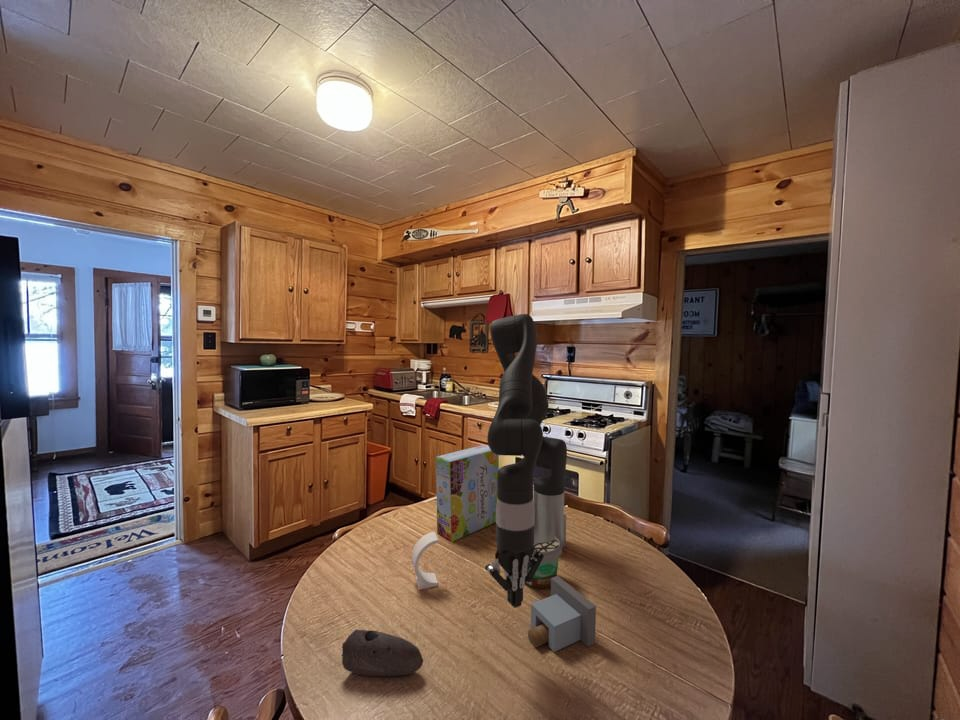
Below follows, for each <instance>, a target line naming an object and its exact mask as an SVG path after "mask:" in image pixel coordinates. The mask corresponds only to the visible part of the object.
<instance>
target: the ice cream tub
mask: <svg viewBox="0 0 960 720" xmlns="http://www.w3.org/2000/svg"><path fill="white" fill-rule="evenodd" d="M534 548H535V549H537V550H538V551H539V552H541V553H542V554H543V555H544V557H543V559H542V561H541V563H540V565H539V567H538V569H537V571H536V573H535V575H534V576H533V578H532V580H531V582H526V583H525V585H524V586H527V587H529V588H531V589H534V590H541V591H542V590H544V591H545V590H549V589H551V578H553V577H556V576H558V568H559V567H558V566H559V559H560V556H561V555H562V552H563V549H561V544H560V541H559V539H558V538H557V537H556V536H555V540H552V541H549V542H543V543H538V544H535V545H534ZM530 569H531V568H529V570H528V572H527V573H529V571H530Z"/></svg>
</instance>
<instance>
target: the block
mask: <svg viewBox="0 0 960 720" xmlns="http://www.w3.org/2000/svg"><path fill="white" fill-rule="evenodd" d="M541 624H545V625H546V626H547V627H548V628H549V642H548V648H549V649H551V651H552V652H554V653H555V652H557V651H559V650H561V649H563V648H566V647H568V646H570V645H573V644H574V643H577V642H578V641H581V640H580V634H581V615H580V614H579V613H578V612H577V611H576V610H574V609H573V608H572V607H571V606H570V605H569V604H567V603H566V602H565V601H564V600H563V599H562V598H560V597H559V596H558V595H557V594H555V595H553V596H551V595H550V596H548V597H545V598H543V599H540V600H537V601H534V602H532V603H530V629H532V628H534V627H537V626H539V625H541Z"/></svg>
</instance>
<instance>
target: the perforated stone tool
mask: <svg viewBox="0 0 960 720" xmlns="http://www.w3.org/2000/svg"><path fill="white" fill-rule="evenodd" d="M341 656H342V657H341V661H342V662H341V663H342V667H343V668H344V669H345V670H346V671H347V672H349V673H354V674H357V675H361V676H366V677H367V676H368V677H369V676H370V677H400V676H407V675H410V674H414V673H416V672H417V671H419V669H421V667H422V666H423V663H424V659H423V656H422V654H421V651H420V649H419V648H418V647H417V646H416V645H415V644H413V643H412V642H411V641H409V640H406V639H404V638H403V637H402V638H401V637H399V636H396V635H393V634H389V633H385V632H383V631H377V630H367V629H365V630H364V629H355V630H354V631H352V632H351V634H349V635H348V636H347V638H346V639H345V641H344V642H343V643H342V654H341Z"/></svg>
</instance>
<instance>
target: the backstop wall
mask: <svg viewBox="0 0 960 720" xmlns="http://www.w3.org/2000/svg"><path fill="white" fill-rule="evenodd" d="M555 594H557V595H558V596H559V597H560V598H562V599H563V600H564V601H565V602H566V603H567V604H569V605H570V606H571V607H572V608H573V609H574V610H576V611H577V612H578V613H579V614H580V615H581V634H580V640H579V641H580V642H582V643H583V644H584V646H586V647H587V648H590V647H591V646H594V645H595V644H596V617H597V615H596V614H597V613H596V612H597V607H596V605H595V604H594V603H593V602H591V601H590V600H589V599H587V598H586V597H585V596H584V595H583V594H582V593H580V592H579V591H577V590H576V589H575V588H574V587H573V586H572V585H570V584H569V583H567V582H566V581H565V580H564V579H562V577H560V576H559V575H557V576H556V577H553V578H551V588H550V596H553V595H555Z"/></svg>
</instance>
